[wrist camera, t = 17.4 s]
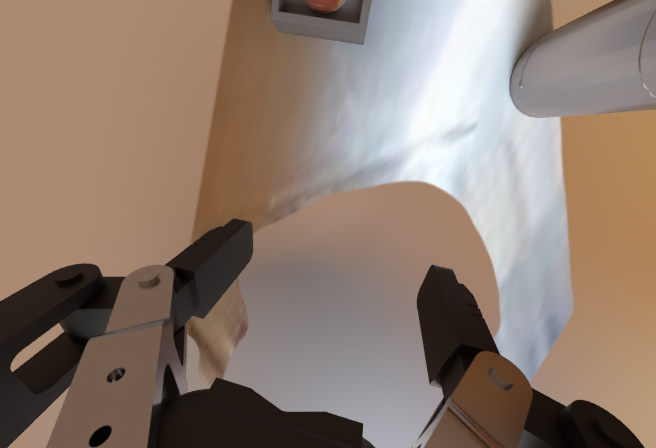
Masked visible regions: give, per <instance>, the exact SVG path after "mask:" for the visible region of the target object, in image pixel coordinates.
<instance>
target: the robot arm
mask: <svg viewBox="0 0 656 448" xmlns="http://www.w3.org/2000/svg"><path fill="white" fill-rule="evenodd" d="M510 91H511V97H512V100H513V103H514V105H515V106H516V107H517V109H518V110H519V111H521V112H522V113H523V114H525V115H527V116H530V117H535V118H544V117H559V116H575V115H588V114H602V113H614V112H628V111H642V110H655V109H656V0H614V1H611V2H609V3H608V4H606V5H604V6H602V7H600V8H598V9H596V10H594V11H592V12H590V13H588V14H586V15H584V16H582V17H580V18H578V19H576V20H574V21H572V22H570V23H568V24H566V25H564V26H562V27H560V28H558V29H556V30H554V31H552V32H550V33H548V34H546V35H544V36H542V37H541V38H539V39H538V40H537V41H535V42H534V43H533V44H531V46H530V47H529V48H528V49H527V50H526V51H525V52H524V53H523V55H522V56H521V57H520V59H519V60H518V62H517V64H516V66H515V68H514V71H513V74H512V78H511V84H510ZM252 253H253V229H252V223H251V222H248V221H244V220H239V219H232V220H231V221H230V222H228V223H227V224H226V225H225V226H223V227H221V226H220V227H217V228H215V229H213V230H210V231H208V232H207V233H206V234H204V235H203V236H202V237H200V239H198V240H197V241H195V242H194V243H193V245H190V246H189V247H187V248H186V249H185V250H184V251H182V252H181V253H180V254H179V255H177V256H176V257H175V258H173V259H172V260H171V261H169V262H168V263H167V264H166V265H152V266H147V267H143V268H140V269H138V270H136V271H134V272H132V273H131V274H129V275H128V276H127V277H103V276H102V273H101V271H100V269H99V267H98V266H96V265H93V264H75V265H71V266H67V267H64V268H61V269H58V270H56V271H54V272H52V273H49V274H48V275H46V276H44V277H42V278H41V279H39V280H37V281H35V282H34V283H32V284H30V285H28V286H27V287H25V288H23V289H21V290H19V291H18V292H16V293H14V294H12V295H11V296H9V297H7V298H5V299H4V300H2V301H0V448H7V447H8V446H9V445H10V444H11V443H12V442H13V441H14V440H15V439H17V437H18V436H20V435H21V434H22V433H23V432H24V430H26V429H27V428H28V427H29V426H30V425H31V424H32V423H33V422H34V420H36V419H37V418H38V417H39V416H40V415H41V414H42V413H43V412H44V411H45V410H46V409H47V408H48V407H49V406H50V405H51V404H52V403H53V402H54V401H55V400H56V399H57V398H58V397H59V396H60V395H61V394H62V393H63V392H64V391H65V390H66V389H67V388H68V387H69V386H70V388H69V390H68V393H67V396H66V398H65V401H64V403H63V406H62V408H61V411H60V413H59V416H58V419H57V421H56V424H55V427H54V429H53V431H52V434H51V436H50V439H49V442H48V444H47V447H46V448H375V447H374V446H373V445H372V444H371V443H370V442H369V441H367V440H366V439H364V438H363V437H362V432H363V424H362V423H359V422H356V421H353V420H350V419H347V418H344V417H340V416H337V415H334V414H331V413H328V412H285V411H281V410H280V409H279V408H277V407H276V406H274V405H273V404H272V403H270V402H269V401H267V400H266V399H265V398H263V397H262V396H261V395H259V394H258V393H256V392H255V391H254V390H252V389H251V388H248V387H245V386H242V385H239V384H235V383H232V382H229V381H226V380H223V379H220V378H216V379H215V381H214V382H213V384H212V386H211V388H210V389H203V390H196V391H192V392H188V387H187V386H188V385H187V378H186V359H187V358H186V357H187V321H188V320H189V319H190V318H191V317H192V316H195V317H199V318H202V319H204V318H205V316H206V315H207V314H208V313H209V311H210V310H211V309H212V308H213V306H214V305H215V304H216V303H217V302H218V300H219V299H220V298H221V297H222V295H223V294H224V293H225V292H226V290H227V289H228V288H229V287H230V285H231V284H232V283H233V282H234V280H235V279H236V278H237V277H238V275H239V274H240V273H241V272H242V271H243V269H244V268H245V267H246V265H247V264H248V263H249V262H250V260H251V257H252ZM417 309H418V315H419V321H420V328H421V334H422V340H423V346H424V352H425V358H426V365H427V371H428V377H429V383H430V385H432V386H436V387H439V388H442V390H443V395H444V398H443V399H442V400H441V402H440V403H439V405H438V406H437V408H436V409H435V411H434V412H433V414H432V416H431V417H430V419H429V420H428V422H427V423H426V425H425V427H424V428H423V430H422V432H421V433H420V434H419V436H418V438H417V439H416V441H415V442H414V444H413V445H412V447H411V448H644V446H643V445H642V444H641V442H640V441H639V440H638V438H637V437H636V436H635V435H634V434H633V433H632V432H631V431H630V430H629V429H628V428H627V427H626V426H625V425H624V424H623V423H622V422H621V421H620V420H618V419H617V418H616V417H615V416H613V415H612V414H610V413H609V412H608V411H606V410H605V409H603V408H601V407H599V406H598V405H596V404H594V403H591V402H589V401H585V400H576V401H574V402H573V403H571V404H570V405H568V406H567V407H566V406H564V405H562V404H561V403H559V402H557V401H555V400H553V399H551V398H550V397H548V396H546V395H544V394H542V393H540V392H538V391H536V390H535V389H533V388H531V386H530V383H529V381H528V380H527V378H526V377H525V375H524V374H523V373H522V372H521V371H520V370H519V368H517V367H516V366H515V365H514V364H513V363H512V362H511V361H509V360H508V359H506V358H505V357H503V356H501V355H500V353H499V351H498V349H497V347H496V344H495V342H494V340H493V338H492V336H491V334H490V331H489V329H488V327H487V324H486V322H485V320H484V318H482V314H481V311H480V309H478V305H477V302H476V300H475V298H474V296H473V294H472V293H470V291H469V290H468V289H467V288H466V287H465V286H464V284H459V283H458V281H457V279H456V276H455V274H454V272H453V270H452V269H449V268H445V267H440V266H436V265H432V266H431V267H430V268H429V270H428V272H427V274H426V277H425V279H424V281H423V283H422V285H421V287H420V290H419V293H418V296H417ZM57 323H59V324H60V325H61V327H62V328H63V330H64V332H63V333H62V334H61V335H59V336H58V337H57V338H56V339H54V340H53V341H52V342H50V343H49V344H48V345H47V346H45V347H44V348H43V349H42V350H40V351H39V352H38V353H37V354H35V355H34V356H33V357H32V358H30V359H29V360H28V361H27V362H25V363H24V364H23V365H21V366H20V367H19V368H18V369H16V370H15V371H14V372H12V371H11V369H10V366H11V363H12V361H13V359H14V358H15V356H16V355H17V354H18V353H19V352H20V351H21V350H23V349H24V348H25V347H27V346H28V345H29V344H31V343H32V342H33V341H35V340H36V339H37V338H39V337H40V336H41V335H43V334H44V333H45V332H47V331H48V330H50V329H51V328H52V327H53V326H55V325H56V324H57Z"/></svg>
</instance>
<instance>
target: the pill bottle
mask: <svg viewBox="0 0 656 448" xmlns="http://www.w3.org/2000/svg"><path fill="white" fill-rule="evenodd" d="M304 1H305V3H306V4H307V5H308V6H309V7H310V8H311V9H312V10H314V11H315V12H318V13H323V14H326V13H331V12H334V11H336V10H337V9H339V8H340V7H341V6H342V5H343V4H344V3H345V1H346V0H304Z"/></svg>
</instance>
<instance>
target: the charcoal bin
mask: <svg viewBox="0 0 656 448" xmlns="http://www.w3.org/2000/svg"><path fill="white" fill-rule="evenodd" d="M370 5H371V0H346V1H345V3H344V4H343V5H342V6H341V7H340V8H339V9H337V10H336V11H334V12H331V13H326V14H323V13H318V12H315V11H314V10H312V9H311V8H310V7H309V6H308V5H307V4H306V3H305V1H304V0H272V5H271V20H272V22H273V23H274V25H275V26H276V27H277V29H278V30H279V31H280V32H284V33H290V34H297V35H303V36H310V37H316V38H322V39H329V40H335V41H342V42H348V43H354V44H361V45H364V39H365V33H366V28H367V22H368V16H369V11H370Z"/></svg>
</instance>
